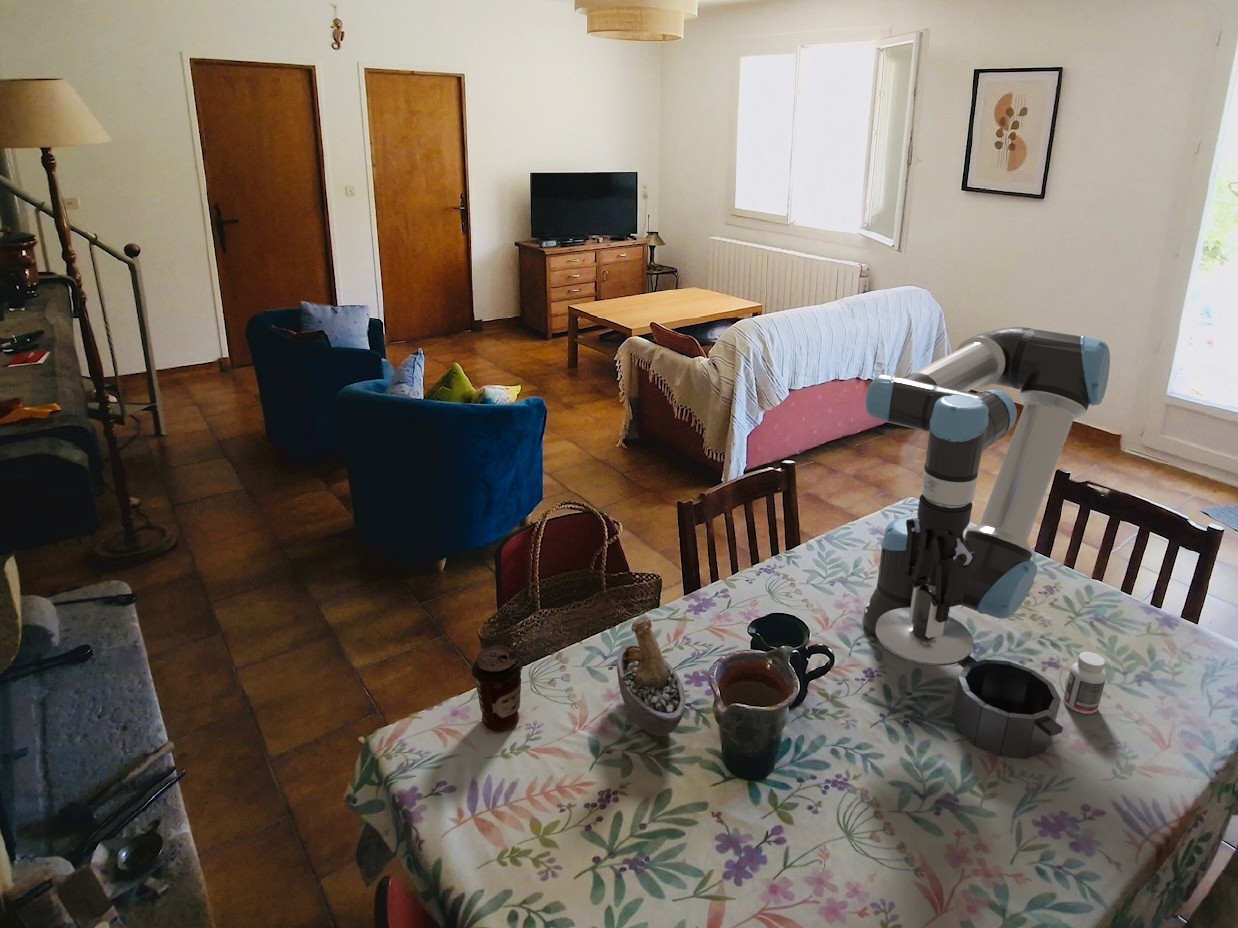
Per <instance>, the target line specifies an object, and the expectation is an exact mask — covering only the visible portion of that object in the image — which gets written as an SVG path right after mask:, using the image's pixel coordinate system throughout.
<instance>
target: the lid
mask: <svg viewBox="0 0 1238 928" xmlns="http://www.w3.org/2000/svg"><path fill="white" fill-rule="evenodd" d="M935 598H936V587H935V586H931V585H923V586H921V587H920V588H919V591H918V598H917V604H916V611H915V617H914V623H913V624H911V623H910V622H909V614H910V608H899V609H894V610H891V611H888V612H886V613H884V614H883V615H882V616H880V618H879V619H878V621H877V623H876V636H877V638H878V639H877V638H876V639H877V640H878V642H879V643H880V644H881V645H882V647H884V649H886V650H888V651H889V652H890V653H891V654H893V655H894V656H897V657H899V658H902V660H906V661H909V662H912V663H915V664H919V665H924V666H933V667H941V666H943V667H944V666H946V667H947V666H952V665H956V664H958V663H959V662H961V661H963V660H965V659H966V658H968V657H969V656H971V654H972V651H973V648H974V638H973V635H972V633H971V632H970V631H969V629H968V628H967V627H965V625H964V624H962V622H959V621H958V620H956V619H955V618H953V617H951V616H949V615H948V619H947V621H945V623H944V629H943V635H940V636H936V637H932V638H928V637H926V629H927V623H928V617H929V611H930V605H931V601H934V600H935Z"/></svg>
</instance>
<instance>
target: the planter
mask: <svg viewBox="0 0 1238 928" xmlns="http://www.w3.org/2000/svg"><path fill="white" fill-rule="evenodd" d="M652 625H653V624H652V621H651V619H650V618H648V617H646V616H642V617H639V618H636V619H635V620H634V621H633V622H632V624H631V631H632V632H634V634H635V637H636V640H637V642H638V643H637V642H633V641H628V642H625V643H622V644H621V647H620V649H619V651H618V654H617V658H616V671H617V679H618V685H619V692H620V694H621V698H622V700H623V703H624V706H625V708H626V710H627V713H628V715H629V716H630V717H631V719H632V720H633V721H634V722H635V724H636V725H637V726H638V727H640V729H642V730H643V731H645V732H647V733H648V734H651V735H652V736H655V737H665V736H667V735H669V734H671V733H672V732H674V731H675V730H676V729H677V728H678V726H679V724H680V723H681V720H682V719H683V716H684V713H685V710H686V709H685V708H686V703H687V701H686V694H685V689H684V687H683V684H682V682H681V679H680V678H679V675H678V673H677V672H676V671H675V669H674V668H673V667H672V665H671V664H670V663H669V662H668V661H667V660H666V659H664V658H663V655H662V652H661V651H662V650H661V649H660V646H659V643H658V641H657V639H656V636H655V634H654V632H653V629H652Z"/></svg>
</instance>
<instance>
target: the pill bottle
mask: <svg viewBox="0 0 1238 928" xmlns="http://www.w3.org/2000/svg"><path fill="white" fill-rule="evenodd" d="M1105 665H1106V660H1105V659H1104V657H1102V656H1101V655H1100V654H1098V653H1095V652H1091V651H1083V652H1081V653H1079V655H1078V658H1077V661H1076V662H1074V663H1073V664H1072V665H1071V667H1070V669H1069V673H1068V674H1069V675H1068V678H1067V681H1066V687H1065V691H1064V695H1063V703H1064V704H1065V705H1066V706H1067V708H1069V709H1070V710H1072V711H1074V712H1077V713H1079V714H1084V715H1089V714H1094V713H1096V712H1097V711H1098V709H1099V706H1100V702H1101V698H1102V694H1103V691H1104V686H1105V683H1106V681H1107V680H1106V679H1107V675H1106V672H1105Z"/></svg>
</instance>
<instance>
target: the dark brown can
mask: <svg viewBox="0 0 1238 928" xmlns="http://www.w3.org/2000/svg"><path fill="white" fill-rule="evenodd" d="M520 657H521V654H520V653H518V652H517V651H516V650H515V649H512V648H510V647H508V646H506V645H505V646H504V645H501V644H500V645H493V646H490V647H487V648H485V649H483V650H482V651H480V653H479V654H478V655H477V657H476V660H475V662H474V663H473V665H472V668H471V675H472V676H473V677H474V680H475V683H476V691H477V696H478V702H479V703H478V704H479V708H480V711H481V713H482V714H481V722H482V724H483V727H484V728H485V729H486V730H488V731H489V732H492V733H496V734H497V733H505V732H508V731H510V730H512V729H513V728H515V727H516V726H517V725H518V723H519V721H520V714H519V709H520V707H521V705H520V704H521V692H522V678H521V677H522V670H523V669H524V667H523V666H522V665H523V663H522V662H521V660H520Z"/></svg>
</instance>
